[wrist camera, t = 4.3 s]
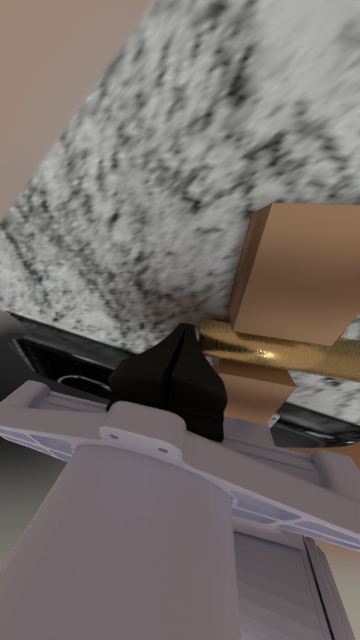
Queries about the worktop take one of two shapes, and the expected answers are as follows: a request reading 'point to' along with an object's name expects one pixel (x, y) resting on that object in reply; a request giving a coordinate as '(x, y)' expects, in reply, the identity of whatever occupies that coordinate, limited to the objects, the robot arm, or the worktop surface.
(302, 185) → the worktop surface
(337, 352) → the axle
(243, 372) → the beam
